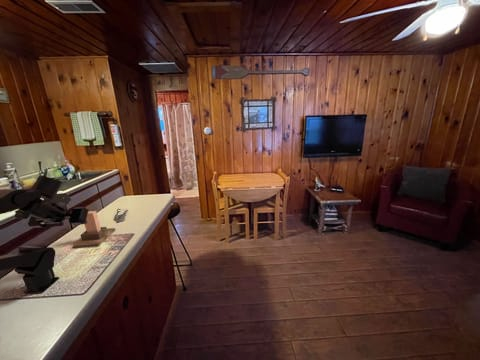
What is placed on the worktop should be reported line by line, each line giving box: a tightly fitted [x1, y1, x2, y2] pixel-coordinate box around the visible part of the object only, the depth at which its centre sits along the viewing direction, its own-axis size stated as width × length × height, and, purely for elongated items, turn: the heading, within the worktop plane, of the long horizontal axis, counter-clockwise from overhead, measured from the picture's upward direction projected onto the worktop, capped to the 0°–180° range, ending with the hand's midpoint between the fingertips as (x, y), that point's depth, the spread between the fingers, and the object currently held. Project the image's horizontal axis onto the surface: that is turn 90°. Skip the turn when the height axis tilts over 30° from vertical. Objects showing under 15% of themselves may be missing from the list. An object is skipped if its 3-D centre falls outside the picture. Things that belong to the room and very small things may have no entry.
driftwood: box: [113, 208, 128, 224], centre depth 120 cm, size 21×7×2 cm, turn 21°
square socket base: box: [72, 226, 116, 249], centre depth 95 cm, size 14×11×4 cm
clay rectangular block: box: [84, 210, 101, 233], centre depth 94 cm, size 2×5×12 cm, turn 94°
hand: (74, 223), depth 82 cm, fingers open, 9 cm apart
